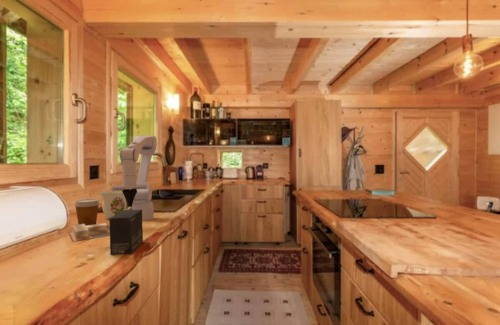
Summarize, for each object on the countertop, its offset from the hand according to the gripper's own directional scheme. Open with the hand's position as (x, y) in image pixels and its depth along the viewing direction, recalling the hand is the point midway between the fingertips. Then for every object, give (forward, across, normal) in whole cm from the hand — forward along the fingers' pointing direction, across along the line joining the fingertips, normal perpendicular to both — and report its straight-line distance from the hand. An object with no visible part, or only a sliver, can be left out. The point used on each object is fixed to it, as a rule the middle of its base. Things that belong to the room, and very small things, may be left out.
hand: (129, 206), depth 116 cm
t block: (+9, -15, -2) cm, 18 cm away
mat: (+9, -12, -2) cm, 15 cm away
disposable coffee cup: (+10, -14, +12) cm, 21 cm away
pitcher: (+10, 0, +25) cm, 27 cm away
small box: (+10, -8, -27) cm, 29 cm away
